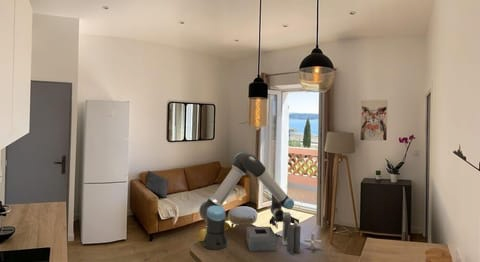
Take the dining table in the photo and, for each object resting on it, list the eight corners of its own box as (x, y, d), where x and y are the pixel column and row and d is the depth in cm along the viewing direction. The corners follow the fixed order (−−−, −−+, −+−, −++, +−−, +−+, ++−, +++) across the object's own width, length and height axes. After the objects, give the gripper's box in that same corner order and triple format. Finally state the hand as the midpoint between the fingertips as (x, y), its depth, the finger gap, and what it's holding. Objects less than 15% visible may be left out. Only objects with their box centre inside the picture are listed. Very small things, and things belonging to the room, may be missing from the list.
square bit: (283, 245, 189) (284, 214, 188) (282, 242, 193) (283, 212, 192) (289, 244, 190) (290, 214, 189) (288, 242, 194) (289, 212, 193)
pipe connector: (321, 253, 179) (321, 237, 178) (304, 251, 181) (304, 235, 180) (320, 246, 189) (320, 231, 188) (304, 244, 191) (304, 229, 190)
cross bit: (285, 252, 179) (286, 226, 178) (288, 247, 186) (289, 222, 185) (298, 255, 176) (298, 228, 175) (300, 250, 183) (301, 224, 182)
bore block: (249, 251, 179) (250, 236, 179) (246, 240, 195) (246, 226, 195) (275, 250, 181) (275, 236, 181) (270, 239, 197) (270, 226, 197)
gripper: (296, 220, 212) (306, 231, 191) (262, 220, 210) (268, 232, 189) (296, 209, 212) (306, 220, 191) (262, 210, 209) (268, 220, 188)
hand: (287, 226), depth 190 cm, fingers open, 13 cm apart
